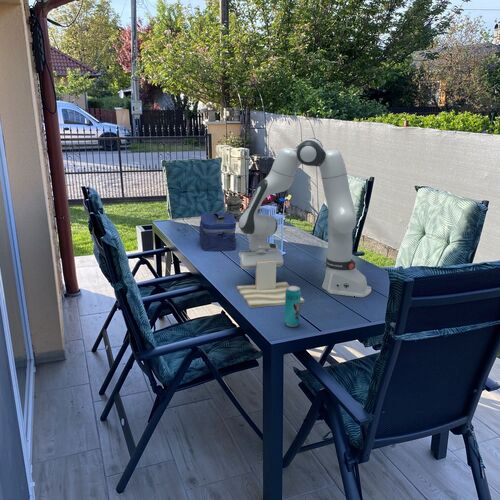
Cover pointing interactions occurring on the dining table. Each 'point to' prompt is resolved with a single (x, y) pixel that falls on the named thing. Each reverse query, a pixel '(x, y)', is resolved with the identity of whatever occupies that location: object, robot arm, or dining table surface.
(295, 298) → the beverage can
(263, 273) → the tile
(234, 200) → the apothecary jar
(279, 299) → the board
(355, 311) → the dining table surface
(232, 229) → the lunch bag
